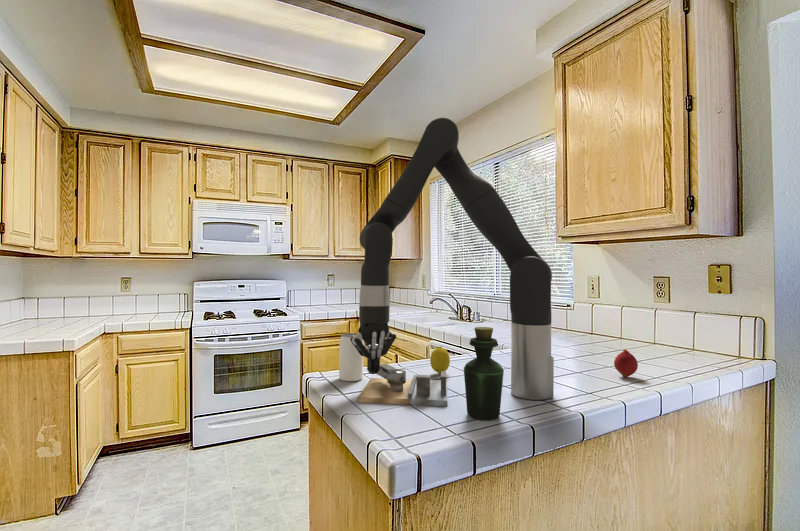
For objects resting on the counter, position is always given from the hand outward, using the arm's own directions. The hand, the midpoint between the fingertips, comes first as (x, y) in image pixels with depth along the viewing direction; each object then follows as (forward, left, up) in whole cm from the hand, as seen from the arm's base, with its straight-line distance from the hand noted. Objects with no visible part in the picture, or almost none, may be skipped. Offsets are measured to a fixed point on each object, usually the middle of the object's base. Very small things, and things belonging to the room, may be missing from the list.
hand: (373, 373), depth 103 cm
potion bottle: (-26, +15, -4) cm, 30 cm away
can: (+8, -9, -4) cm, 13 cm away
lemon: (-16, -17, -4) cm, 24 cm away
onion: (-68, -21, -4) cm, 72 cm away
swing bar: (-4, +1, -1) cm, 4 cm away
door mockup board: (-8, +2, -4) cm, 9 cm away
